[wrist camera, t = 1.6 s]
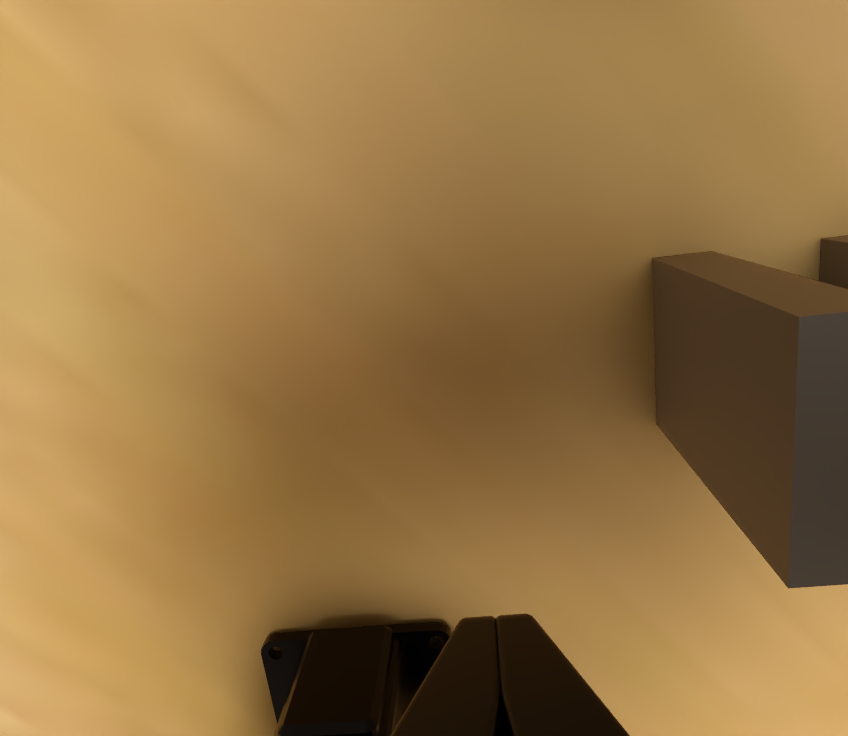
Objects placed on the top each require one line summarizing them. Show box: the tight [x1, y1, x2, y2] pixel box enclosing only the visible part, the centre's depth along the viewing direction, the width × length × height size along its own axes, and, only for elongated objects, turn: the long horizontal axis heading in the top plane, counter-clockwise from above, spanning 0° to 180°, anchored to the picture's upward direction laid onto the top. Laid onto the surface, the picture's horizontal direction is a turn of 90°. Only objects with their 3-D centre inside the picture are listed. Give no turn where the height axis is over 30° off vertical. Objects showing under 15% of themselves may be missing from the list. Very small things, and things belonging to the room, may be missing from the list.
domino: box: [653, 251, 848, 588], centre depth 14 cm, size 5×2×8 cm, turn 7°
